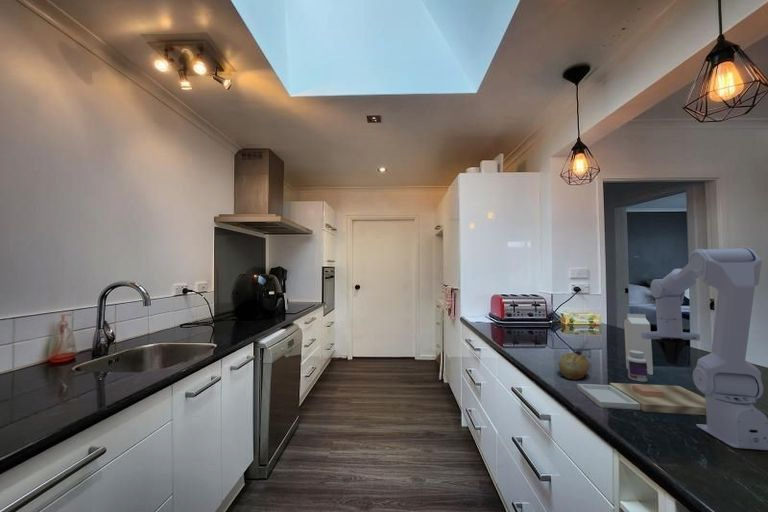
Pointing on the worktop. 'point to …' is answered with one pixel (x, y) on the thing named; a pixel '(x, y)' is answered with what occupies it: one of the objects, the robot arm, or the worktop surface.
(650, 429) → the worktop surface
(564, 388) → the worktop surface
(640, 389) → the terracotta tile
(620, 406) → the tray
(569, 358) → the bread roll
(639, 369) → the pill bottle
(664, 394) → the chopping board
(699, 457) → the worktop surface
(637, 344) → the milk
